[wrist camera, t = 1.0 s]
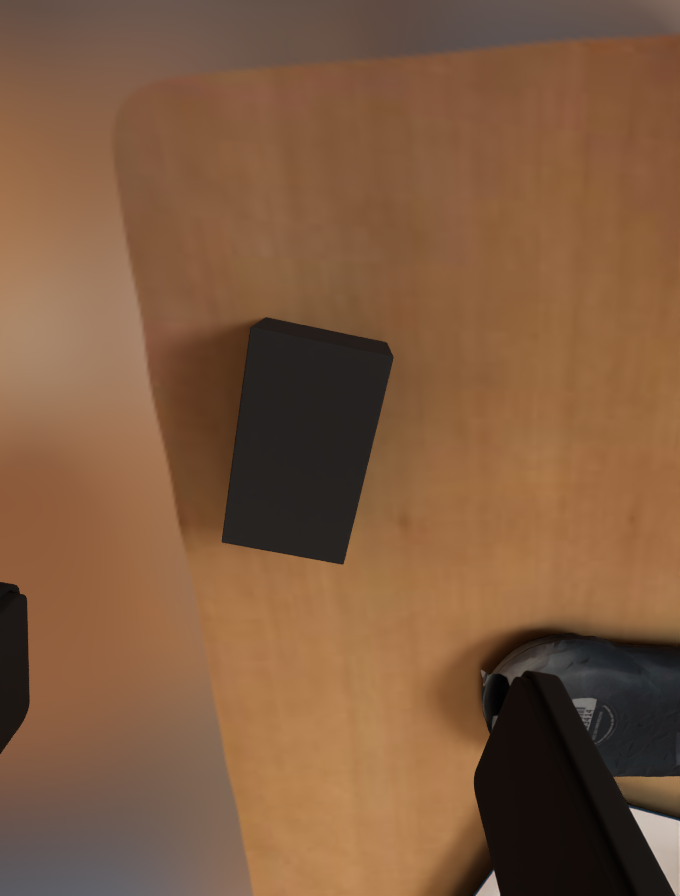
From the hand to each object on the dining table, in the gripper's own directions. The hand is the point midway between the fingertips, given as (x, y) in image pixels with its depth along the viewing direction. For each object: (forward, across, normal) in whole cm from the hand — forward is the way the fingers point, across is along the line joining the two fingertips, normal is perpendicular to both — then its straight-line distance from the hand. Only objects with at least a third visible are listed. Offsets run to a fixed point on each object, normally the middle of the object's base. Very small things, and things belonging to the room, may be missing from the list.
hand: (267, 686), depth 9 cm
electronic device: (+15, -20, +12) cm, 28 cm away
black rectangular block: (+15, 0, 0) cm, 15 cm away
